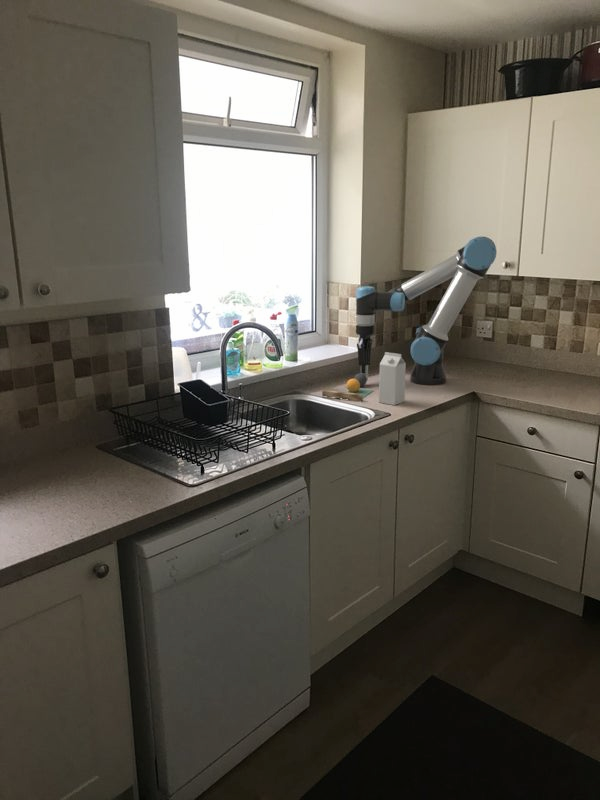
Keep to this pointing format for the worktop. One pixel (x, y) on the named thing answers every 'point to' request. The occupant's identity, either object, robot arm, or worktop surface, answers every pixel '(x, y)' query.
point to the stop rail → (343, 395)
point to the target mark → (362, 392)
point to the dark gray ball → (361, 379)
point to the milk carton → (392, 379)
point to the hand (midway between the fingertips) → (364, 380)
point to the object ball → (353, 385)
